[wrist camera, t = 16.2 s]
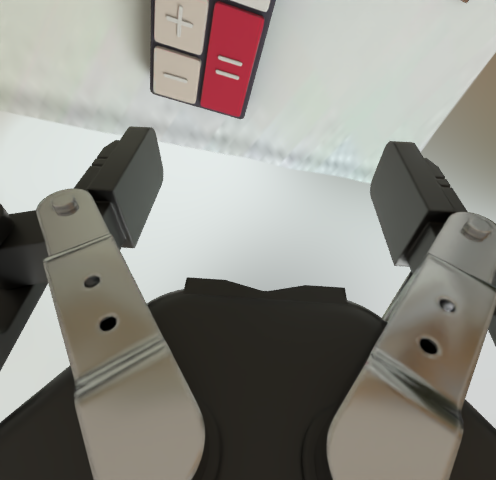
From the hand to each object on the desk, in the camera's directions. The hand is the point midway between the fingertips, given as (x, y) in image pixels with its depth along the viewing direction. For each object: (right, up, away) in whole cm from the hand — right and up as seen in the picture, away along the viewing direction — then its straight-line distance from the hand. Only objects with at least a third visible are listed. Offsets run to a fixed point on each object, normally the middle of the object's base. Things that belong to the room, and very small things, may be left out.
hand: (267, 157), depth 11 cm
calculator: (-4, +20, +21) cm, 29 cm away
